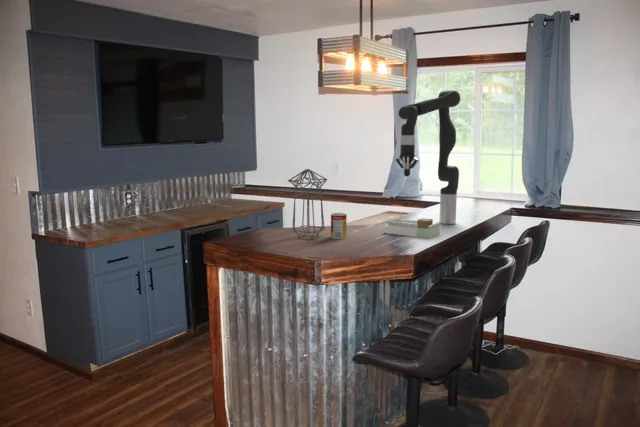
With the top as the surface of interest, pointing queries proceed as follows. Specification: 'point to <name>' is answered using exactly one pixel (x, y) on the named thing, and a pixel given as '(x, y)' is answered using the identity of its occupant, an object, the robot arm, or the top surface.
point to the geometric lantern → (308, 201)
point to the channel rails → (404, 223)
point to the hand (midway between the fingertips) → (406, 176)
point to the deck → (414, 230)
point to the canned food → (338, 225)
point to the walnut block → (424, 222)
